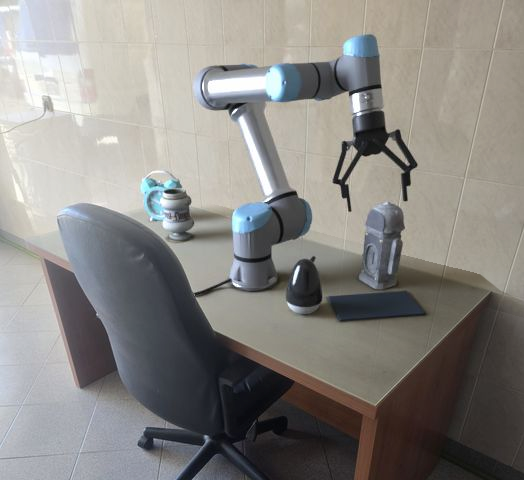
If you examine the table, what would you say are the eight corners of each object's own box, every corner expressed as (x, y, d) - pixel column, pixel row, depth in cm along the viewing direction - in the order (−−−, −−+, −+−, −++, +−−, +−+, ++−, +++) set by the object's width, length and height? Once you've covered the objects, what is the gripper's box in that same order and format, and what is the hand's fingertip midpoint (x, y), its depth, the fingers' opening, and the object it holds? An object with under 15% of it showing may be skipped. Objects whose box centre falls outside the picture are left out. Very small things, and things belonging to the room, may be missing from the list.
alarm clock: (141, 222, 199) (133, 173, 188) (149, 215, 207) (142, 167, 196) (180, 223, 196) (175, 174, 185) (187, 216, 204) (182, 168, 193)
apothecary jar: (159, 236, 184) (152, 189, 174) (186, 230, 190) (181, 184, 180) (173, 245, 175) (167, 197, 166) (201, 238, 181) (197, 191, 171)
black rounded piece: (328, 306, 134) (331, 256, 125) (311, 322, 126) (313, 270, 118) (296, 298, 138) (298, 249, 130) (278, 312, 131) (279, 262, 123)
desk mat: (340, 321, 126) (340, 319, 126) (327, 298, 138) (328, 296, 138) (425, 315, 129) (425, 313, 128) (405, 292, 140) (406, 290, 140)
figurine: (381, 293, 140) (392, 210, 126) (352, 276, 151) (360, 197, 137) (405, 286, 144) (420, 205, 130) (376, 270, 154) (386, 193, 140)
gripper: (314, 124, 108) (327, 217, 115) (425, 98, 103) (432, 197, 111) (315, 126, 115) (327, 214, 122) (419, 102, 110) (426, 195, 118)
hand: (377, 206), depth 117 cm, fingers open, 13 cm apart
